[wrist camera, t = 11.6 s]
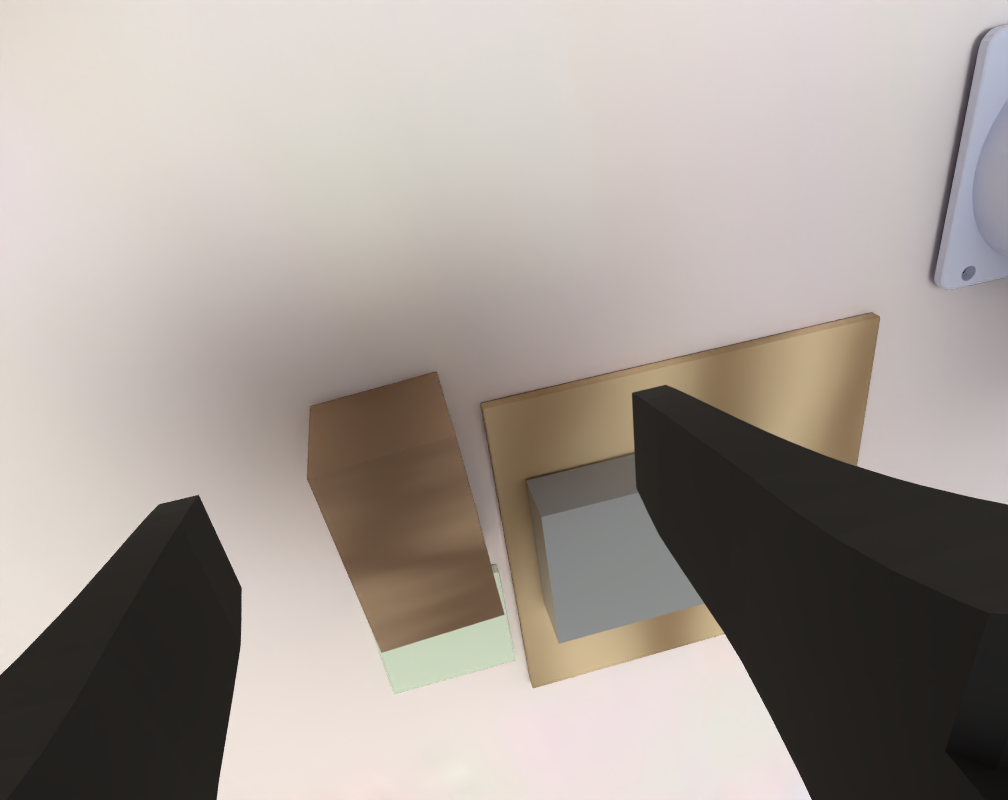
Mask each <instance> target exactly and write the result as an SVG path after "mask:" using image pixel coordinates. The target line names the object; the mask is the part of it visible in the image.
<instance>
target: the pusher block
mask: <svg viewBox="0 0 1008 800" xmlns="http://www.w3.org/2000/svg"><path fill="white" fill-rule="evenodd" d="M307 480H308V482H309V484H310V487H311V489H312V491H313V494H314V496H315V498H316V501H317V503H318V505H319V508H320V510H321V512H322V515H323V517H324V519H325V522H326V524H327V526H328V529H329V531H330V533H331V536H332V538H333V540H334V543H335V545H336V547H337V550H338V552H339V555H340V557H341V559H342V562H343V564H344V566H345V569H346V571H347V573H348V576H349V578H350V580H351V583H352V585H353V587H354V590H355V592H356V594H357V597H358V599H359V601H360V604H361V606H362V608H363V611H364V613H365V615H366V618H367V620H368V622H369V625H370V627H371V629H372V632H373V634H374V636H375V639H376V641H377V643H378V646H379V648H380V650H381V653H383V652H386V651H389V650H393V649H396V648H399V647H402V646H406V645H409V644H412V643H415V642H418V641H422V640H425V639H428V638H431V637H435V636H438V635H441V634H444V633H447V632H451V631H454V630H457V629H460V628H464V627H467V626H470V625H473V624H476V623H480V622H483V621H486V620H489V619H493V618H496V617H499V616H502V615H505V614H504V610H503V607H502V603H501V599H500V596H499V592H498V589H497V585H496V581H495V578H494V574H493V570H492V567H491V563H490V559H489V556H488V552H487V548H486V545H485V541H484V537H483V534H482V530H481V526H480V523H479V519H478V516H477V512H476V508H475V505H474V501H473V497H472V494H471V490H470V486H469V483H468V479H467V475H466V472H465V468H464V464H463V461H462V457H461V454H460V450H459V446H458V443H457V439H456V435H455V432H454V429H453V425H452V422H451V419H450V415H449V412H448V409H447V405H446V402H445V399H444V395H443V392H442V389H441V385H440V382H439V379H438V375H437V372H433V373H430V374H426V375H422V376H419V377H415V378H411V379H408V380H404V381H400V382H397V383H393V384H389V385H386V386H382V387H379V388H375V389H371V390H368V391H364V392H360V393H357V394H353V395H349V396H346V397H342V398H339V399H335V400H331V401H328V402H324V403H320V404H317V405H313V406H310V419H309V442H308V465H307Z"/></svg>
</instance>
